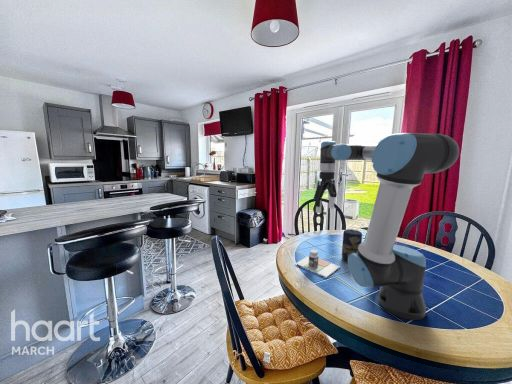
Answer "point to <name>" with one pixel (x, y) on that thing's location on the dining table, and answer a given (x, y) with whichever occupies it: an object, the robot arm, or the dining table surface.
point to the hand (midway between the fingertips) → (325, 210)
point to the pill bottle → (313, 259)
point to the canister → (350, 242)
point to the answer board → (319, 267)
